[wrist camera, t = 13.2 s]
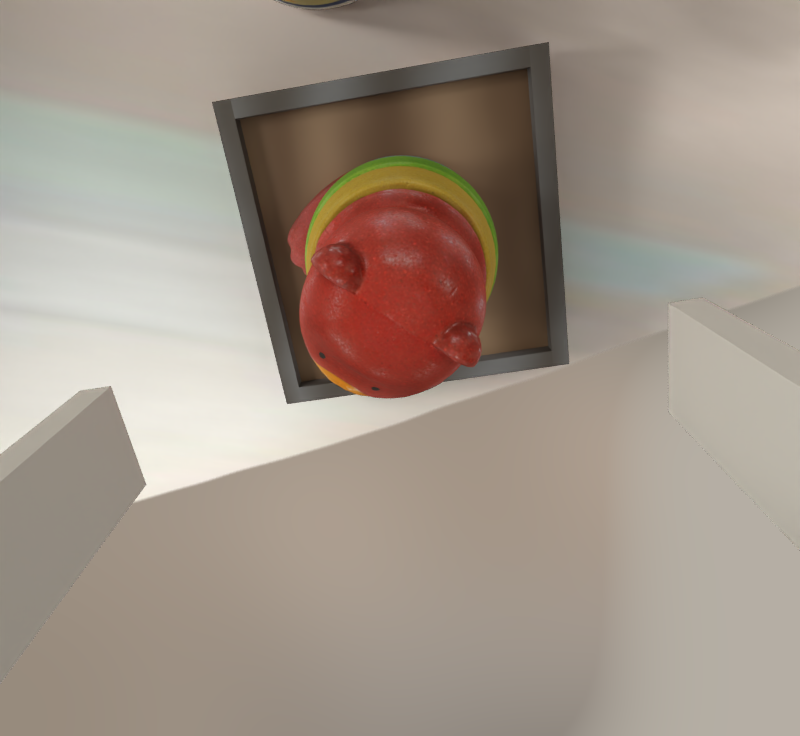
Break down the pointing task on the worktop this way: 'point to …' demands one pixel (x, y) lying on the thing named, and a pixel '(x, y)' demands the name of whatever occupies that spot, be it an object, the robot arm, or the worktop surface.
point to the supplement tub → (315, 3)
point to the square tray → (421, 137)
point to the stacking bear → (394, 276)
